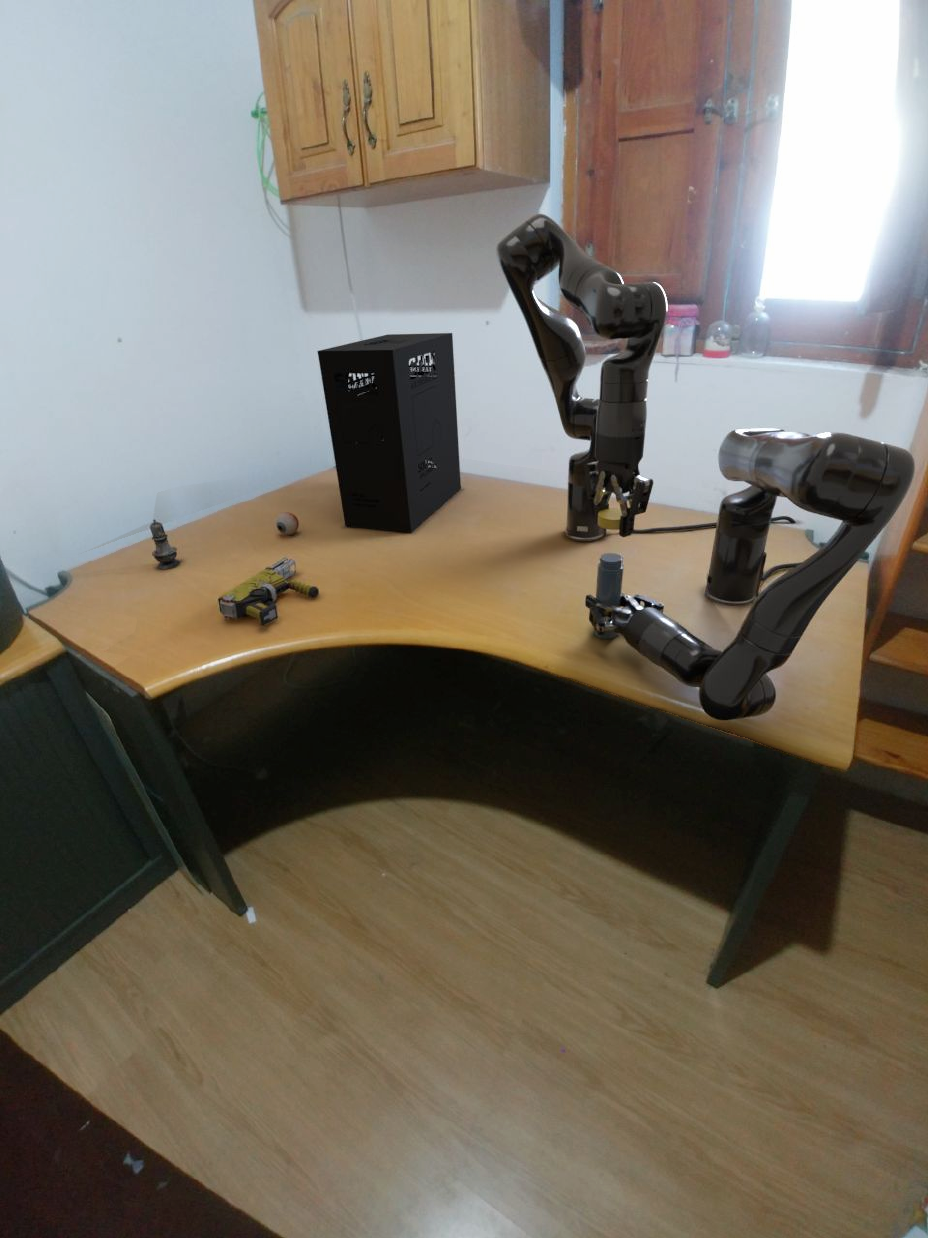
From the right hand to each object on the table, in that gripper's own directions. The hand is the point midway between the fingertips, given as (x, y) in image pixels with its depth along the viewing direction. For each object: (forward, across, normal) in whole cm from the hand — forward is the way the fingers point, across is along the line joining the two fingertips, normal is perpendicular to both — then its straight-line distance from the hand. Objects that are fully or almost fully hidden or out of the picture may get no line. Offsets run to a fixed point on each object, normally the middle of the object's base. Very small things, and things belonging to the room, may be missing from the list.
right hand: (599, 596), depth 112 cm
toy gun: (+42, +53, +6) cm, 68 cm away
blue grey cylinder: (-3, 0, +6) cm, 7 cm away
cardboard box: (+84, +10, +6) cm, 85 cm away
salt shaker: (+75, +76, +6) cm, 107 cm away
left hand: (-3, 0, -14) cm, 14 cm away
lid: (-3, 0, -17) cm, 17 cm away
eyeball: (+80, +45, +6) cm, 92 cm away
